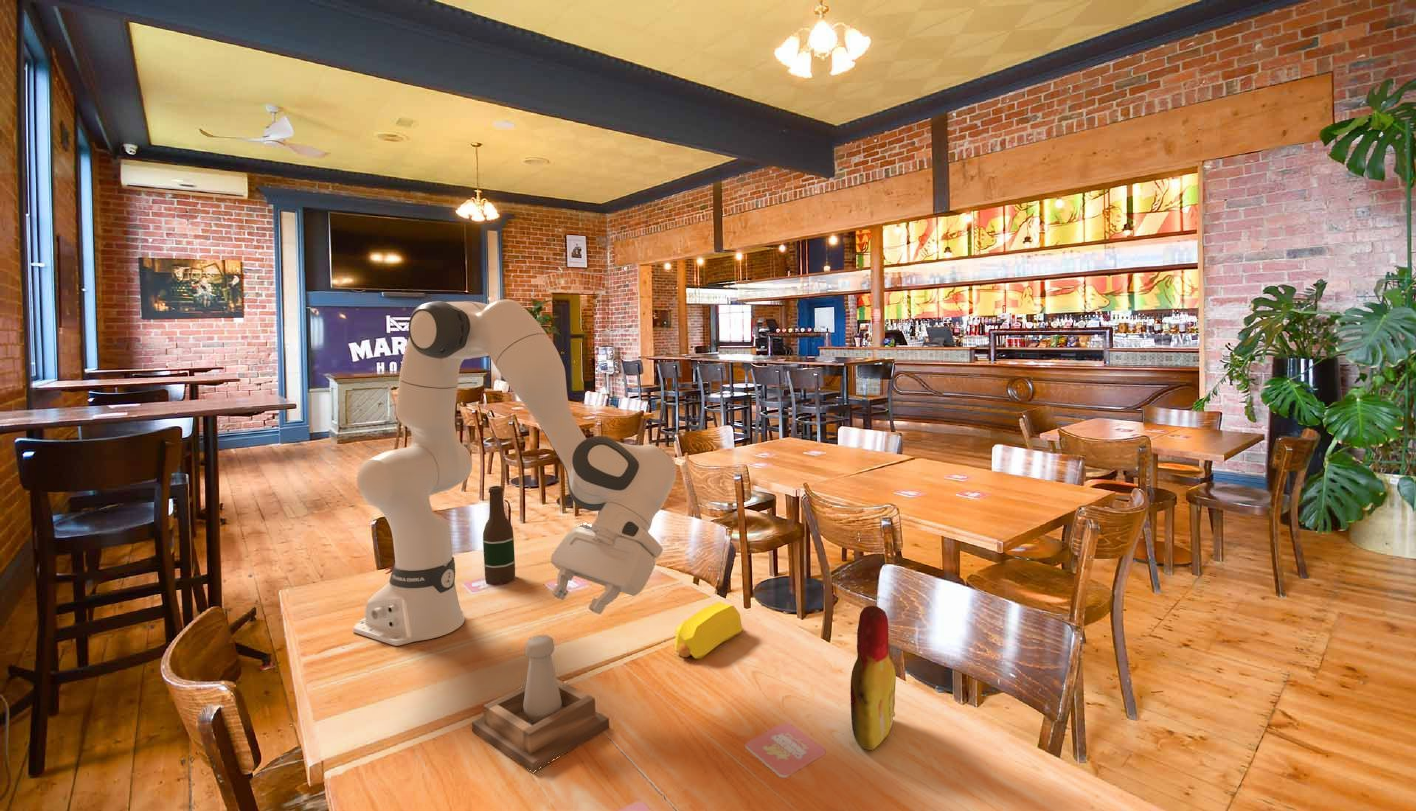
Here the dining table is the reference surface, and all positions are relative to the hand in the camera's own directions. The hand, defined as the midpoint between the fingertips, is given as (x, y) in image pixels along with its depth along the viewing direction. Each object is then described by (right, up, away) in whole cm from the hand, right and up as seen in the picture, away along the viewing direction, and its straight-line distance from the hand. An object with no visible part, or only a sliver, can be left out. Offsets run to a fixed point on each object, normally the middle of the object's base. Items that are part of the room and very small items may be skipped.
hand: (575, 604), depth 107 cm
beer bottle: (-31, -12, +62) cm, 70 cm away
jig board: (-4, -18, -4) cm, 19 cm away
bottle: (+46, -18, -7) cm, 50 cm away
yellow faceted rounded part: (+22, -15, +24) cm, 36 cm away
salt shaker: (-4, -17, -4) cm, 18 cm away
